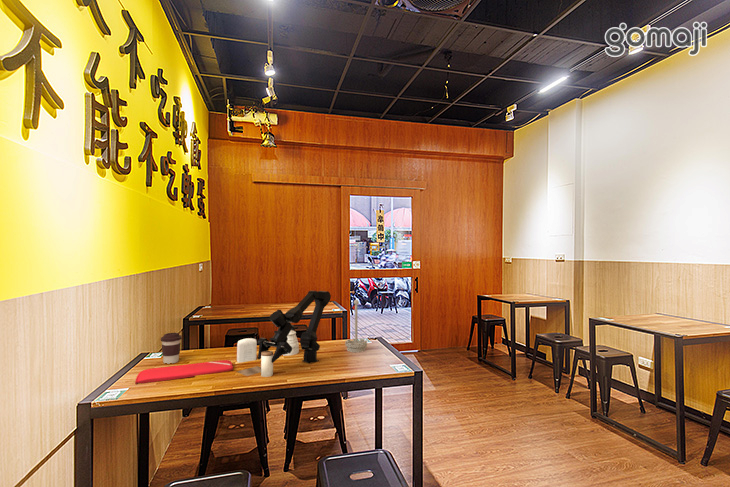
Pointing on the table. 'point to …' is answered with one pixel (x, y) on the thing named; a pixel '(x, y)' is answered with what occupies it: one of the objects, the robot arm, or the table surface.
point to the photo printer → (246, 350)
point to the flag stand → (356, 345)
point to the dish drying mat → (183, 371)
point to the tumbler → (266, 363)
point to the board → (250, 371)
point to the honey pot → (293, 343)
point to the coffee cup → (171, 347)
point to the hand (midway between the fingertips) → (265, 360)
